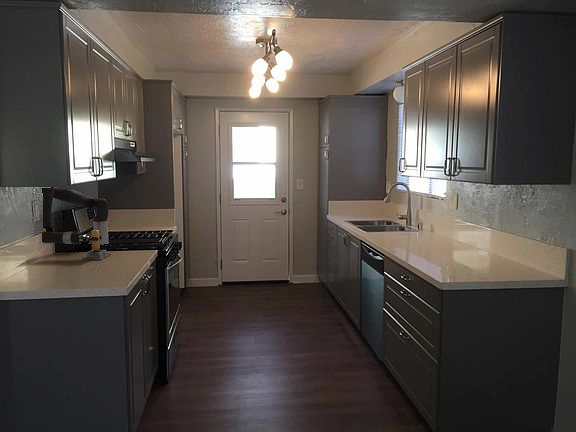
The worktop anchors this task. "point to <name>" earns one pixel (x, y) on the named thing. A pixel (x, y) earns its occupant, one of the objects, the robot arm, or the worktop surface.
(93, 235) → the connector
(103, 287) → the worktop surface
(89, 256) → the junction block
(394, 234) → the worktop surface
